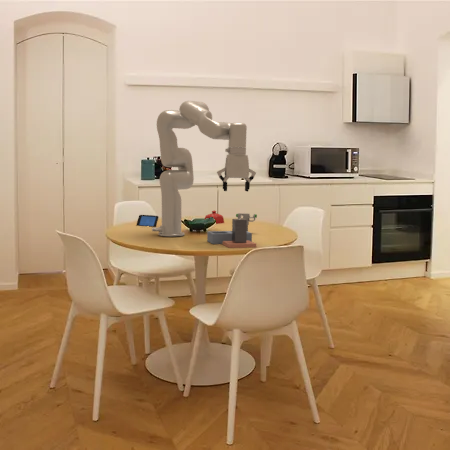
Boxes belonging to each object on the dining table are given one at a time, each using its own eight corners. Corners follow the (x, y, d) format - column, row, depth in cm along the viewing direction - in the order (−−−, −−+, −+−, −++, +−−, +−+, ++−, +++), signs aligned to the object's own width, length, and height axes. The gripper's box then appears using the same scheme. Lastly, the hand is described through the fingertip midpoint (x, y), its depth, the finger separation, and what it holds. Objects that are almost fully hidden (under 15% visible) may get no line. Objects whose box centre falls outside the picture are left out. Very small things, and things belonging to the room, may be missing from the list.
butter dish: (212, 227, 357) (212, 211, 356) (199, 225, 366) (199, 210, 365) (228, 225, 365) (228, 210, 364) (215, 224, 373) (215, 209, 373)
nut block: (235, 243, 279) (235, 219, 278) (232, 241, 284) (232, 218, 283) (246, 242, 280) (246, 219, 279) (243, 241, 285) (243, 218, 284)
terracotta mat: (229, 247, 275) (229, 244, 275) (222, 244, 286) (222, 241, 286) (256, 247, 278) (256, 243, 278) (248, 243, 289) (248, 240, 289)
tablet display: (129, 229, 342) (129, 216, 341) (139, 227, 352) (139, 214, 351) (149, 230, 338) (149, 217, 337) (159, 228, 347) (159, 215, 346)
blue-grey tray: (212, 244, 287) (212, 233, 286) (207, 241, 296) (207, 231, 296) (251, 243, 291) (251, 233, 291) (245, 240, 301) (245, 230, 301)
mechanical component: (255, 234, 325) (256, 214, 324) (235, 233, 327) (235, 213, 326) (256, 233, 328) (257, 213, 327) (236, 232, 330) (236, 213, 329)
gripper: (219, 151, 277) (218, 191, 279) (258, 152, 281) (257, 191, 283) (215, 151, 284) (214, 190, 286) (253, 152, 288) (252, 190, 291)
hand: (236, 191), depth 285 cm, fingers open, 9 cm apart
